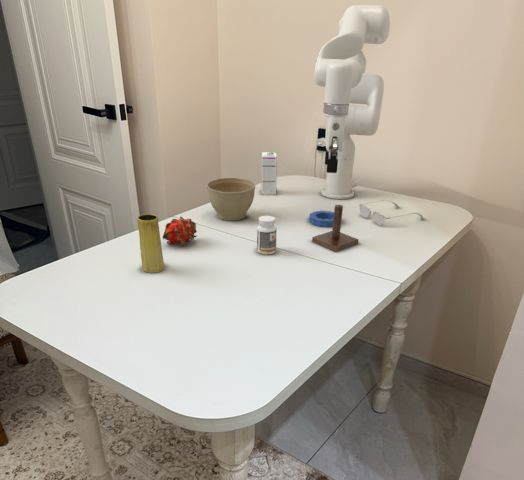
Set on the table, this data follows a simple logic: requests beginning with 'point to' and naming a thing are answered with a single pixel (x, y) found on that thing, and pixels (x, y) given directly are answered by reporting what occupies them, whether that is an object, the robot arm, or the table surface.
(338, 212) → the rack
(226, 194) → the planter bowl
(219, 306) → the table surface
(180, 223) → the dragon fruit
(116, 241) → the table surface
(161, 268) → the vase
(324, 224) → the blue ring
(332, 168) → the robot arm
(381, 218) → the eyeglasses
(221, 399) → the table surface
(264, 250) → the pill bottle
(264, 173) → the syrup box
